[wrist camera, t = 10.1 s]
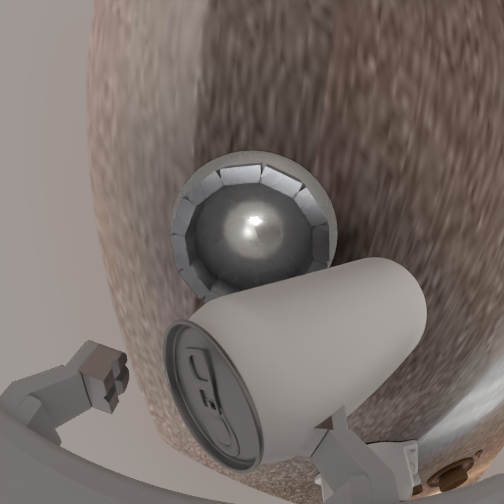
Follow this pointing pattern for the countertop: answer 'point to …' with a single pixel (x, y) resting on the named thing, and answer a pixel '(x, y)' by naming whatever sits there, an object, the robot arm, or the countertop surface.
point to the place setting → (449, 476)
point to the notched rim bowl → (250, 224)
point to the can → (290, 357)
